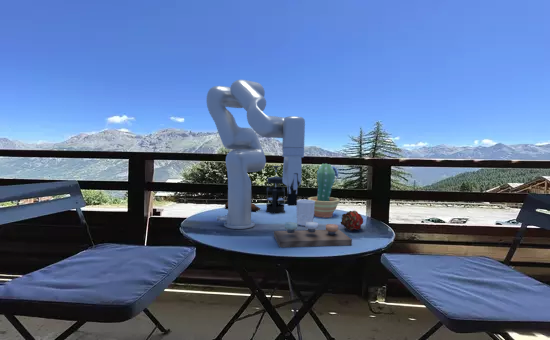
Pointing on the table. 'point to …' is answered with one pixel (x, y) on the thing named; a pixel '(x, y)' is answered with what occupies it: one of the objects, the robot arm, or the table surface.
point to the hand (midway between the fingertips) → (291, 205)
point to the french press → (275, 195)
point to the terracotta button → (331, 228)
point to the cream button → (311, 226)
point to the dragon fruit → (352, 220)
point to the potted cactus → (325, 191)
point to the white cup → (305, 211)
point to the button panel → (311, 238)
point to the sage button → (290, 227)
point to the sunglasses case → (253, 207)
